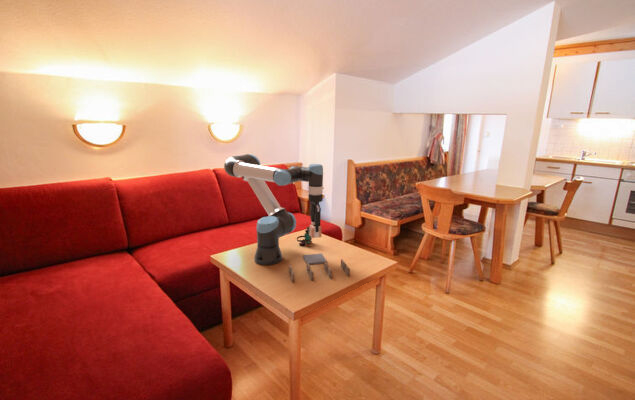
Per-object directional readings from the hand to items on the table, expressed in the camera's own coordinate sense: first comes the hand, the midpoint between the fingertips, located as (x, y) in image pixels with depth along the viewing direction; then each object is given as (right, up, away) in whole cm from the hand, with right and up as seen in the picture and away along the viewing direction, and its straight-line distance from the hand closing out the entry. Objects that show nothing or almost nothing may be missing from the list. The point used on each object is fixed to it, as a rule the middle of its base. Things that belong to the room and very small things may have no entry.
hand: (315, 235), depth 174 cm
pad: (0, -14, +4) cm, 15 cm away
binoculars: (-7, -9, +26) cm, 28 cm away
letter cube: (0, 0, 0) cm, 0 cm away
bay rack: (+2, -18, -13) cm, 22 cm away
